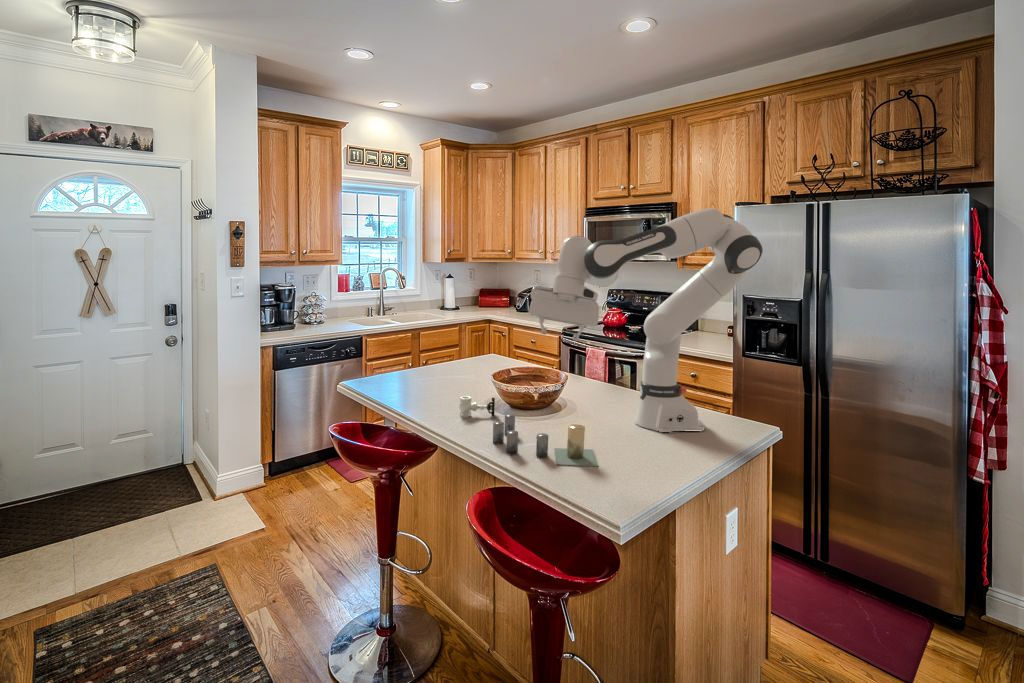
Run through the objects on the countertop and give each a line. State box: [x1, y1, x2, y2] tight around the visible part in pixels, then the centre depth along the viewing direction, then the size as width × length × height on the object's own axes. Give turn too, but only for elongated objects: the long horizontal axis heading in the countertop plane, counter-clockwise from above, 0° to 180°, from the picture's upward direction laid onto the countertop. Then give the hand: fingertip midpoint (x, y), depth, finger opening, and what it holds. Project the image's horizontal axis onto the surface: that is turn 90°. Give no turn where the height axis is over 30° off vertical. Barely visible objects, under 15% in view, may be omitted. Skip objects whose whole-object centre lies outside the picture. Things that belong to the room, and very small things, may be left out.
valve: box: [458, 395, 496, 418], centre depth 183 cm, size 7×7×12 cm
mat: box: [553, 447, 599, 468], centre depth 148 cm, size 11×12×1 cm
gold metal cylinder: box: [566, 423, 586, 460], centre depth 147 cm, size 4×4×8 cm
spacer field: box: [492, 413, 549, 459], centre depth 155 cm, size 10×23×6 cm, turn 27°
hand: (559, 337), depth 154 cm, fingers open, 8 cm apart
